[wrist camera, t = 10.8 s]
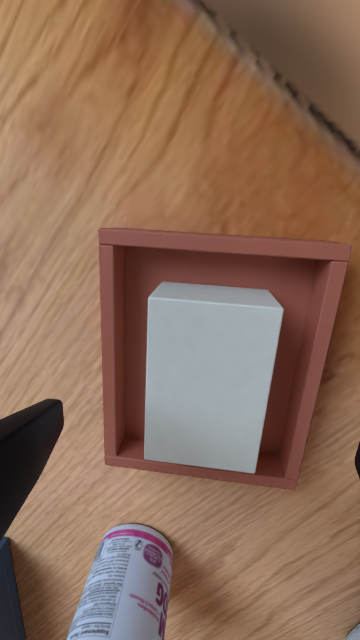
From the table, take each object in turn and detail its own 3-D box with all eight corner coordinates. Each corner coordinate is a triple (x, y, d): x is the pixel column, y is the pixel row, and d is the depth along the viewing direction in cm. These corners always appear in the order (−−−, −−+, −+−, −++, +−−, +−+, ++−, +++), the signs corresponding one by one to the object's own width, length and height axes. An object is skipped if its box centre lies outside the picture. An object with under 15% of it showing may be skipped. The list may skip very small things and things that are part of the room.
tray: (285, 458, 16) (295, 490, 14) (116, 437, 17) (104, 465, 15) (331, 241, 12) (353, 244, 10) (114, 227, 13) (97, 228, 11)
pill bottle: (187, 564, 19) (169, 810, 11) (126, 580, 20) (69, 815, 12) (150, 511, 18) (100, 742, 10) (87, 532, 19) (-3, 753, 11)
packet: (247, 426, 15) (255, 474, 12) (156, 416, 15) (143, 460, 12) (268, 289, 13) (284, 308, 10) (161, 280, 13) (147, 296, 10)
